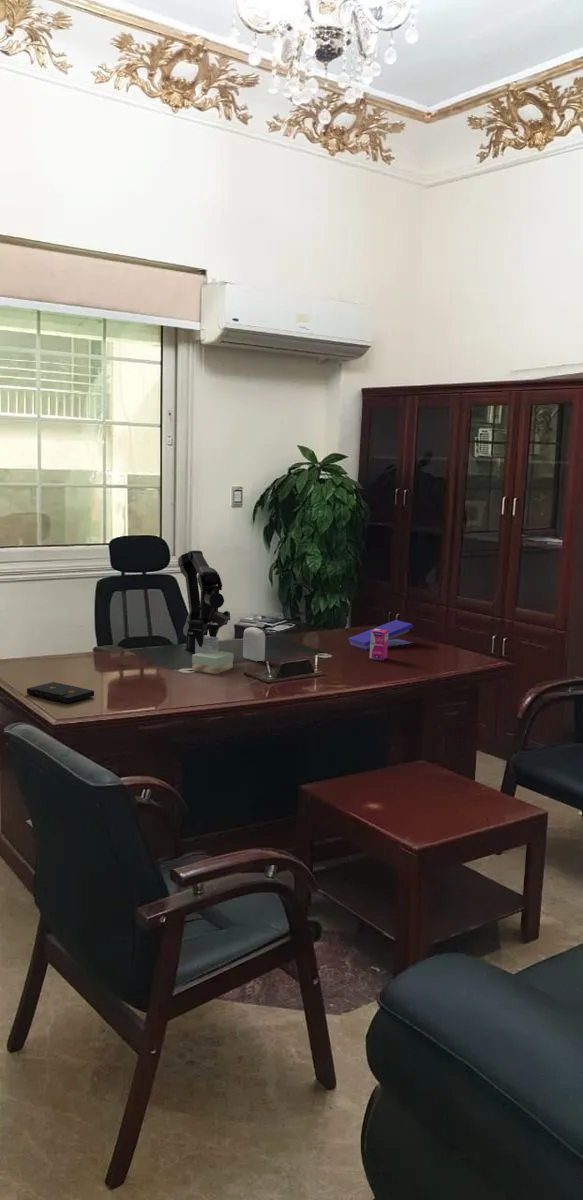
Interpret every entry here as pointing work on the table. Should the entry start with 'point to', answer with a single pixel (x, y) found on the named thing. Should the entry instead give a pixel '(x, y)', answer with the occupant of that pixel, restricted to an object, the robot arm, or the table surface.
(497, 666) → the table surface
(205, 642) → the medicine box
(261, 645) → the photo printer
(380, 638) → the supplement box
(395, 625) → the stapler
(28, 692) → the cassette tape
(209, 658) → the tower top block
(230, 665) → the tower base block
